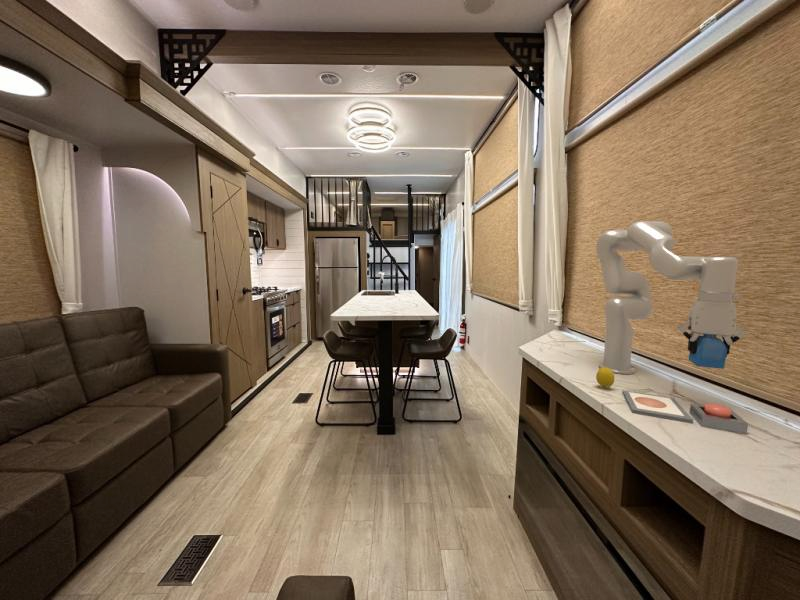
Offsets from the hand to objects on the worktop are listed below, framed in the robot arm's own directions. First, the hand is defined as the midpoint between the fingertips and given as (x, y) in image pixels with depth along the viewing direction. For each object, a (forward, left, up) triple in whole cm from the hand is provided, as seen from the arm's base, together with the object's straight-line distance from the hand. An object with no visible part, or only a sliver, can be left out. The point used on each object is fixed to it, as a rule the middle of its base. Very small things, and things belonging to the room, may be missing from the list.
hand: (707, 354), depth 97 cm
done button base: (+13, -1, -17) cm, 21 cm away
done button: (+13, -1, -15) cm, 19 cm away
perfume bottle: (0, 0, -4) cm, 4 cm away
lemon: (-3, -26, -17) cm, 31 cm away
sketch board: (+8, -14, -17) cm, 23 cm away
